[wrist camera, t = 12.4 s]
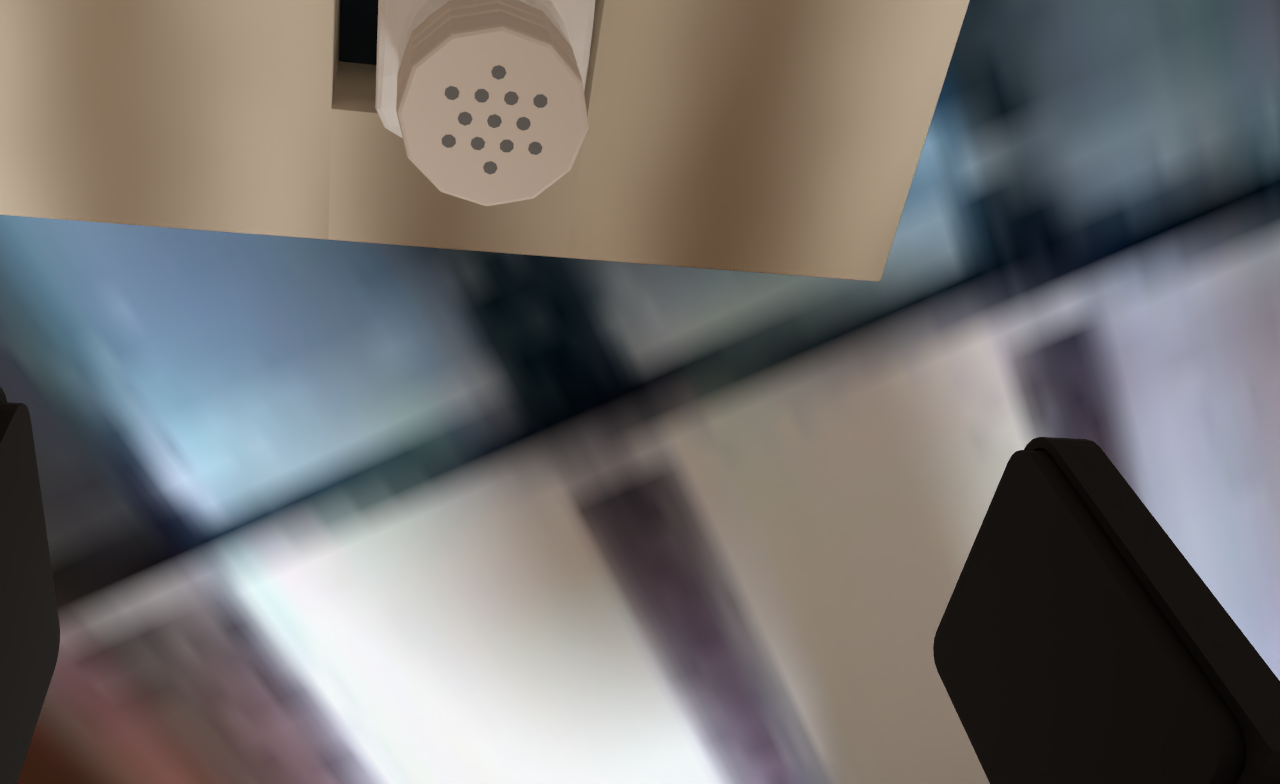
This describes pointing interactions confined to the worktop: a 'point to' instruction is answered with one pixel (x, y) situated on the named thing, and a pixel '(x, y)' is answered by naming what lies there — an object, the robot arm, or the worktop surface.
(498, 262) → the worktop surface
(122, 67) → the spice stand
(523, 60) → the pepper shaker
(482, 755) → the worktop surface
